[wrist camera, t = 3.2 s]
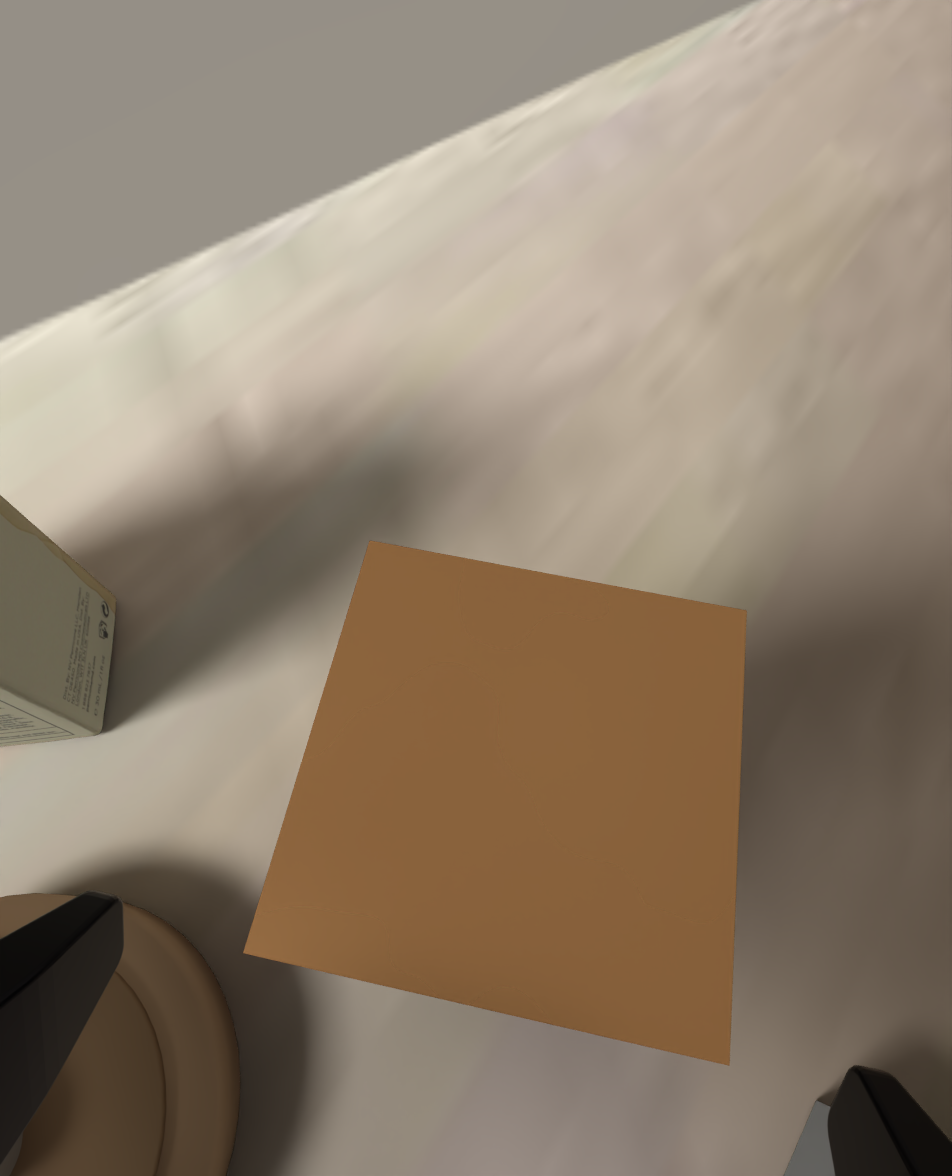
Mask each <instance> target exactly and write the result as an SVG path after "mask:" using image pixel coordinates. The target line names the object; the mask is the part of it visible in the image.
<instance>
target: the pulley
mask: <svg viewBox="0 0 952 1176" xmlns="http://www.w3.org/2000/svg"><path fill="white" fill-rule="evenodd" d="M75 897H76V896H72V895H59V894H40V893H33V894H22V895H11V896H5V897H0V938H2V937H4V936H6V935H8V934H10V933H11V932H13V931H15V930H17V929H19V928H20V927H22V926H24V925H26V924H28V923H29V922H31V921H33V920H35V919H37V918H38V917H40V916H42V915H44V914H46V913H47V912H49V911H51V910H53V909H55V908H56V907H58V906H60V905H62V904H64V903H65V902H67V901H69V900H71V899H73V898H75ZM123 917H124V949H123V953H122V957H121V959H120V962H119V964H118V966H117V968H116V970H115V972H114V974H113V976H112V977H111V979H110V981H109V983H108V985H107V987H106V988H105V990H104V992H103V994H102V996H101V998H100V1000H99V1001H98V1003H97V1005H96V1007H95V1009H94V1011H93V1012H92V1014H91V1016H90V1018H89V1020H88V1022H87V1023H86V1025H85V1027H84V1029H83V1031H82V1033H81V1034H80V1036H79V1038H78V1040H77V1042H76V1044H75V1045H74V1047H73V1049H72V1051H71V1053H70V1055H69V1056H68V1058H67V1060H66V1062H65V1064H64V1066H63V1068H62V1069H61V1071H60V1073H59V1075H58V1076H57V1078H56V1080H55V1082H54V1083H53V1085H52V1087H51V1089H50V1090H49V1092H48V1094H47V1096H46V1097H45V1099H44V1100H43V1102H42V1103H41V1105H40V1107H39V1108H38V1110H37V1111H36V1113H35V1114H34V1116H33V1118H32V1119H31V1121H30V1122H29V1124H28V1125H27V1127H26V1128H25V1130H24V1131H23V1133H22V1134H21V1136H20V1137H19V1139H18V1140H17V1142H16V1143H15V1145H14V1146H13V1148H12V1149H11V1151H10V1152H9V1154H8V1155H7V1157H6V1158H5V1160H4V1161H3V1163H2V1164H1V1166H0V1176H226V1174H227V1170H228V1166H229V1163H230V1159H231V1155H232V1151H233V1147H234V1142H235V1135H236V1129H237V1123H238V1116H239V1102H240V1066H239V1051H238V1046H237V1040H236V1035H235V1029H234V1024H233V1021H232V1018H231V1014H230V1011H229V1008H228V1005H227V1002H226V999H225V996H224V994H223V992H222V990H221V988H220V986H219V984H218V982H217V979H216V977H215V975H214V973H213V972H212V970H211V969H210V967H209V966H208V964H207V963H206V961H205V960H204V958H203V957H202V955H201V954H200V953H199V952H198V951H197V950H196V948H195V947H194V946H193V945H192V944H191V943H190V942H189V941H188V940H187V939H186V937H185V936H183V935H182V934H181V933H180V932H178V931H177V930H176V929H175V928H173V927H172V926H171V925H170V924H168V923H167V922H166V921H164V920H162V919H160V918H159V917H157V916H155V915H153V914H152V913H150V912H148V911H146V910H143V909H141V908H138V907H135V906H133V905H130V904H127V903H124V902H123Z"/></svg>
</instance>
